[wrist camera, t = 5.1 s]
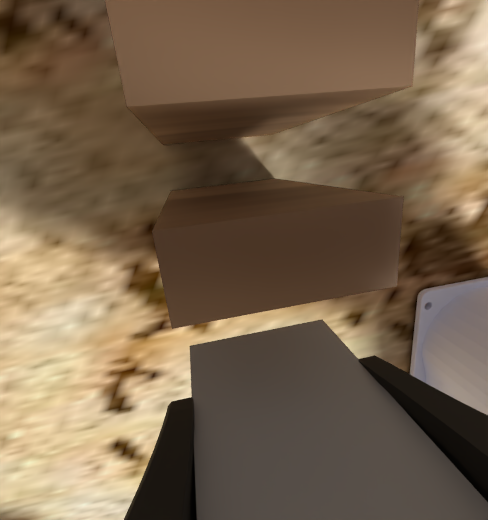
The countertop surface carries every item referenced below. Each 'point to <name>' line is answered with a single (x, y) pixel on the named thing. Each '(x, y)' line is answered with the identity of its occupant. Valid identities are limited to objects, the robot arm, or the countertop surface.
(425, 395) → the robot arm
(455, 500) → the domino
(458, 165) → the countertop surface
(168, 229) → the domino
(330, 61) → the domino
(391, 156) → the countertop surface
